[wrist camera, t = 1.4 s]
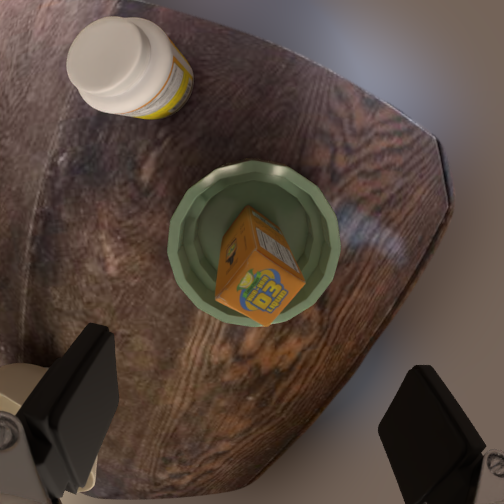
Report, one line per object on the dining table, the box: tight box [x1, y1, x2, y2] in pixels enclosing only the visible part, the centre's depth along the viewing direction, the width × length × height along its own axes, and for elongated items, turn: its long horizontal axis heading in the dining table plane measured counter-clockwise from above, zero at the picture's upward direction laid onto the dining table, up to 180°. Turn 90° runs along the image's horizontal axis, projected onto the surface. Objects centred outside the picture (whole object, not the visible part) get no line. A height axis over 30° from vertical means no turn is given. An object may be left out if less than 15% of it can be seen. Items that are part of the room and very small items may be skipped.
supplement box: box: [215, 205, 306, 327], centre depth 20 cm, size 3×3×10 cm
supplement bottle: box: [66, 16, 194, 120], centre depth 16 cm, size 6×6×10 cm
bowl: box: [0, 363, 97, 492], centre depth 25 cm, size 16×16×10 cm
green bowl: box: [167, 158, 341, 327], centre depth 22 cm, size 11×11×4 cm
